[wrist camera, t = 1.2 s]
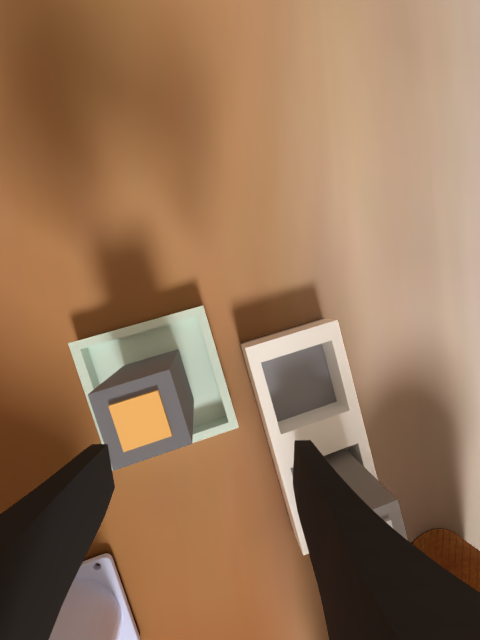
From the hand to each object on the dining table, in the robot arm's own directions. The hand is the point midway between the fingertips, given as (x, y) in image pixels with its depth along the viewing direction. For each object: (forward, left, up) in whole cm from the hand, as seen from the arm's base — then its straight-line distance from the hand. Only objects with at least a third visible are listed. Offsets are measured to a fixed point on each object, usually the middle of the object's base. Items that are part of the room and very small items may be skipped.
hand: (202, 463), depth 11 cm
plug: (-3, +1, -11) cm, 11 cm away
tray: (-3, +1, -11) cm, 11 cm away
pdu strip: (+7, -6, -11) cm, 14 cm away
